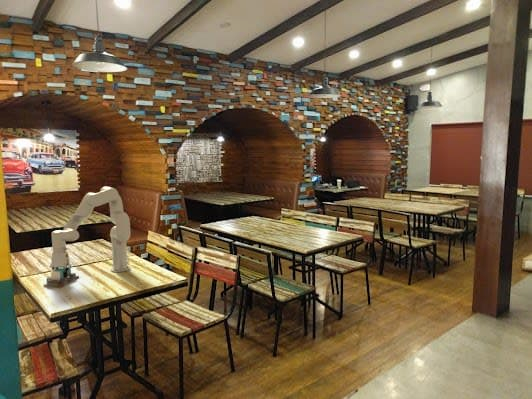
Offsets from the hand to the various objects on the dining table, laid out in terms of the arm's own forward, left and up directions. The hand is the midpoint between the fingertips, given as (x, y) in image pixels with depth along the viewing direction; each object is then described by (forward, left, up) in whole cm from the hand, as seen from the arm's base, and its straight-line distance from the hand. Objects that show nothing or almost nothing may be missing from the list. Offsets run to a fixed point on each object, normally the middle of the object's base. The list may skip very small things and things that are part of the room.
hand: (61, 276), depth 257 cm
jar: (-16, -12, -4) cm, 20 cm away
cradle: (0, 0, -3) cm, 3 cm away
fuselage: (0, 0, -1) cm, 1 cm away
